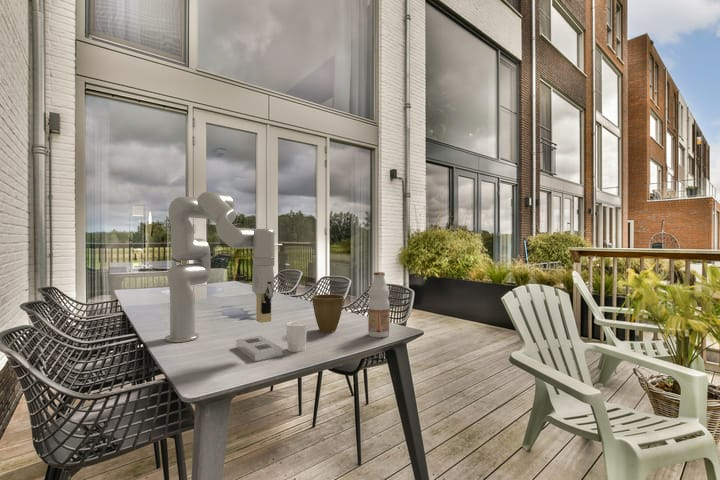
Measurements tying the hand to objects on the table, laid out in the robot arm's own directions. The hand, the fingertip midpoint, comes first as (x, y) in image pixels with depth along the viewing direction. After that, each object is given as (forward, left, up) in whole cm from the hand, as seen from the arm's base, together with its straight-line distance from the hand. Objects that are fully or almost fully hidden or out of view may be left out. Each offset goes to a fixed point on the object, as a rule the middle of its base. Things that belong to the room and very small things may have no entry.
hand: (263, 312), depth 132 cm
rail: (-5, 0, -16) cm, 17 cm away
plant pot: (-16, +38, -16) cm, 44 cm away
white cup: (+1, +13, -16) cm, 21 cm away
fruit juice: (+4, +52, -16) cm, 55 cm away
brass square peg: (0, 0, -3) cm, 3 cm away
